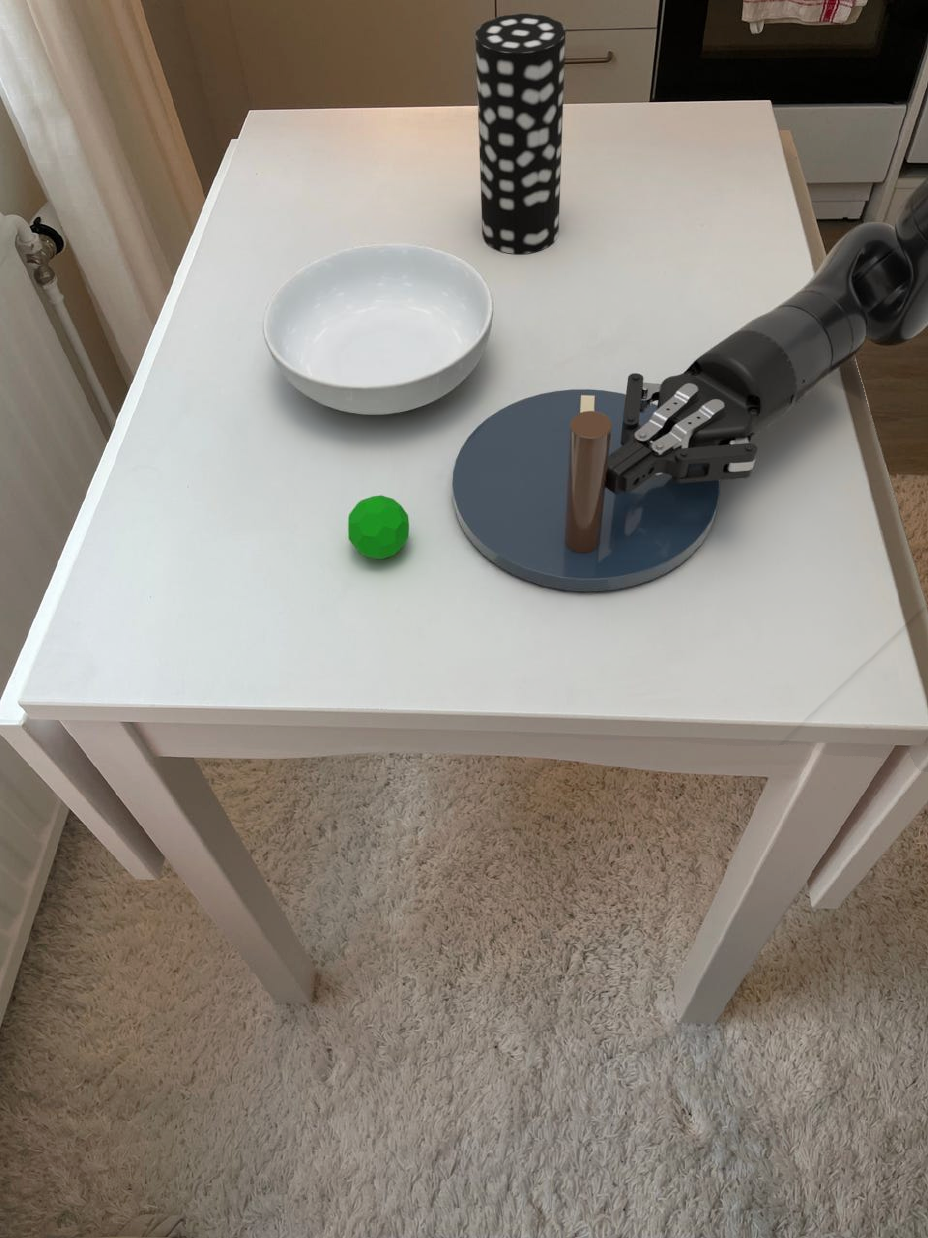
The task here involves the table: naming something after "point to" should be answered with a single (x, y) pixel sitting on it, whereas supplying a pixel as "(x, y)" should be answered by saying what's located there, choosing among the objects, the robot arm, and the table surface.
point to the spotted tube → (520, 130)
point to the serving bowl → (379, 327)
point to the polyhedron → (378, 527)
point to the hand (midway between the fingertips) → (609, 481)
